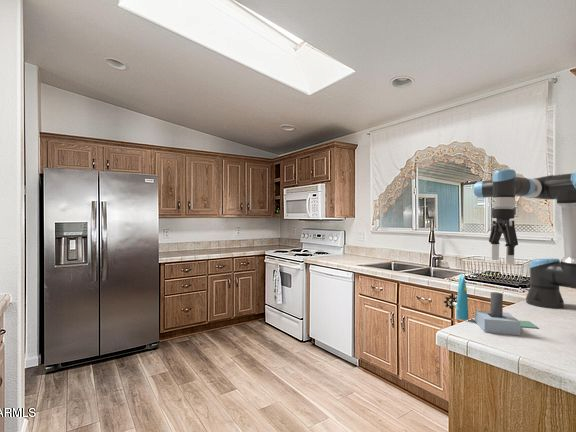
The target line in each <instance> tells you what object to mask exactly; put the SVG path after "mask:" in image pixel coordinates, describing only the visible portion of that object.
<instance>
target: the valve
mask: <svg viewBox="0 0 576 432" xmlns="http://www.w3.org/2000/svg"><path fill="white" fill-rule="evenodd" d="M444 299H446V300H444V301H443V303H444V304H445V308H449V309H450V310H452V309H453V308H455V309H456V307H457V296H453V295H452V294H450V295H449V297H448V296H445V297H444Z"/></svg>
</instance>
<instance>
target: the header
mask: <svg viewBox="0 0 576 432" xmlns="http://www.w3.org/2000/svg"><path fill="white" fill-rule="evenodd" d="M474 313H475V316H474V317H475V323H476V324H477V326H478V327H479V328H480V330H482V331H483V333H489V332H490V333H491V334H501V333H504V334H503V335H515V336H521V327H520V321H521V320H519V319H517V318H516V317H515V316H513V315H512V314H510V313H509V312H505V311H503V318H495V317H491V310H489V311H487V310H477V309H476V310H475V312H474Z"/></svg>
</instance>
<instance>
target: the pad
mask: <svg viewBox="0 0 576 432" xmlns="http://www.w3.org/2000/svg"><path fill="white" fill-rule="evenodd" d="M519 321H520V328H526V329H527V328H528V329H539V327H538V326H537V325H536V324H534V323H533V322H531V321H530V320H529V321H528V320H519Z"/></svg>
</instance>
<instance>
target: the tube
mask: <svg viewBox="0 0 576 432" xmlns="http://www.w3.org/2000/svg"><path fill="white" fill-rule="evenodd" d="M459 275H460V276H459V280H458V287H457V294H456V295H457V296H456V301H457V307H456V308H455V309H456V310H455V311H456V312H455V318H456V319H457V320H461V321H468V320H469V318H470V317H469V304H468V302H469V301H468V292H467V291H468V290H467V285H466V279H465V275H464V274H463V273H460V274H459Z"/></svg>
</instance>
